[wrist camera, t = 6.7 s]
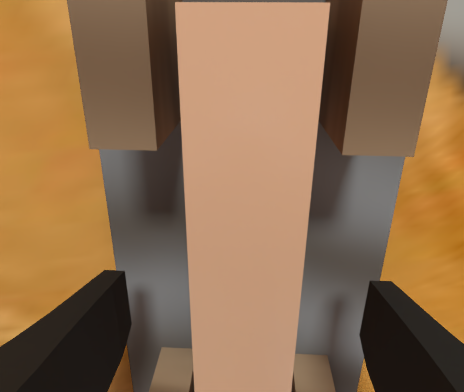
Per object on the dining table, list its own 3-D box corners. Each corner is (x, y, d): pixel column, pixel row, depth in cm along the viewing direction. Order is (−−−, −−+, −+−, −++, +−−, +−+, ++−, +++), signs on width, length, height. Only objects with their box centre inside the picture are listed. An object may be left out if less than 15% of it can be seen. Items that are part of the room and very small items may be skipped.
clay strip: (270, 403, 17) (275, 540, 13) (215, 401, 17) (201, 535, 13) (297, 13, 11) (329, 2, 6) (208, 12, 11) (174, 1, 6)
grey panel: (343, 415, 19) (372, 541, 14) (143, 404, 19) (108, 522, 14) (436, -71, 10) (578, -148, 6) (82, -71, 11) (-43, -141, 6)
